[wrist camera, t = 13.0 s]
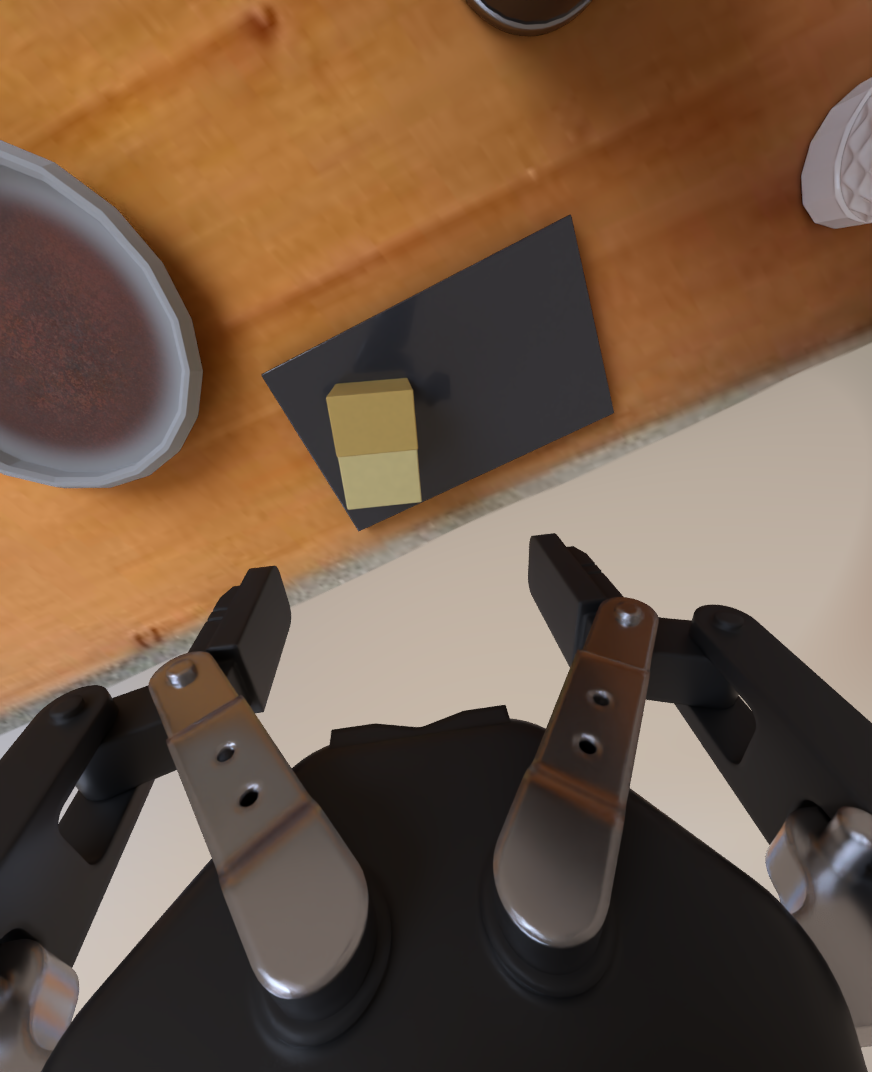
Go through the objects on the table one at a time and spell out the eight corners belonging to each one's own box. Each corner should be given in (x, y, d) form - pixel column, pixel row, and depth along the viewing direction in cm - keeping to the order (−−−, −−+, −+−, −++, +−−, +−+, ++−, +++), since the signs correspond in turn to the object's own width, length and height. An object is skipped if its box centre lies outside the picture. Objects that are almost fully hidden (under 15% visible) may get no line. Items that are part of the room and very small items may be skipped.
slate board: (562, 218, 24) (571, 213, 23) (606, 409, 29) (614, 413, 28) (265, 372, 26) (260, 374, 25) (359, 524, 31) (358, 532, 30)
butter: (407, 377, 26) (413, 389, 21) (416, 474, 29) (422, 502, 24) (335, 383, 25) (325, 397, 21) (351, 480, 28) (346, 510, 24)
